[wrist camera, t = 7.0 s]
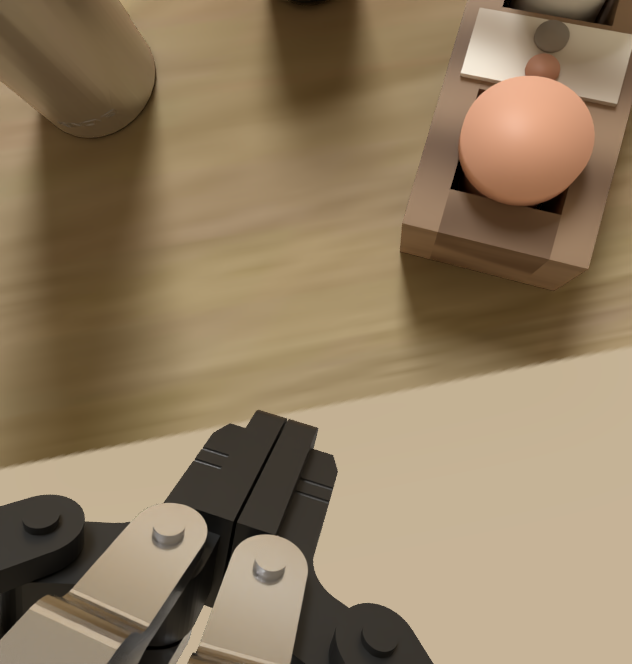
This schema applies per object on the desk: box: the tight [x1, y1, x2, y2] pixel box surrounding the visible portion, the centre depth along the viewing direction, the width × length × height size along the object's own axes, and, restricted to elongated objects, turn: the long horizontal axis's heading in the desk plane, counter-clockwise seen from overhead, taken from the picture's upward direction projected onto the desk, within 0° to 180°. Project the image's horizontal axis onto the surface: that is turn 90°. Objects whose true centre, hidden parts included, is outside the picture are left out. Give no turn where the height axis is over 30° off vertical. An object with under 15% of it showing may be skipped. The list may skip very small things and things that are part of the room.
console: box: [400, 0, 632, 291], centre depth 33 cm, size 22×10×6 cm, turn 163°
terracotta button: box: [458, 76, 595, 209], centre depth 31 cm, size 7×7×7 cm
